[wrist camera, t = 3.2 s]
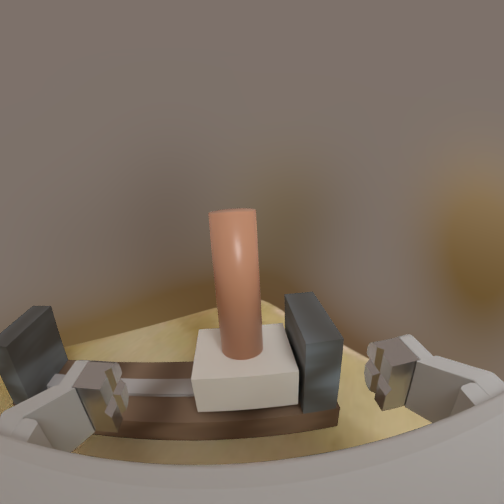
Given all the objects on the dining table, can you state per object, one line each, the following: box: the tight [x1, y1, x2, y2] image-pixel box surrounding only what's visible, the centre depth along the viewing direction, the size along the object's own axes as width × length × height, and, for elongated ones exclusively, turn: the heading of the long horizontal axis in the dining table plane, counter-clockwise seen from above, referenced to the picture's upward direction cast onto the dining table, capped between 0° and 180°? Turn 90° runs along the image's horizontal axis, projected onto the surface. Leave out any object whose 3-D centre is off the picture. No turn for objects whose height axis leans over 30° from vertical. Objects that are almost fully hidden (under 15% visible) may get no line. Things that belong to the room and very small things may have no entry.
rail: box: [0, 292, 344, 440], centre depth 23 cm, size 27×8×8 cm, turn 94°
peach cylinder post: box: [191, 208, 299, 412], centre depth 22 cm, size 7×7×13 cm
